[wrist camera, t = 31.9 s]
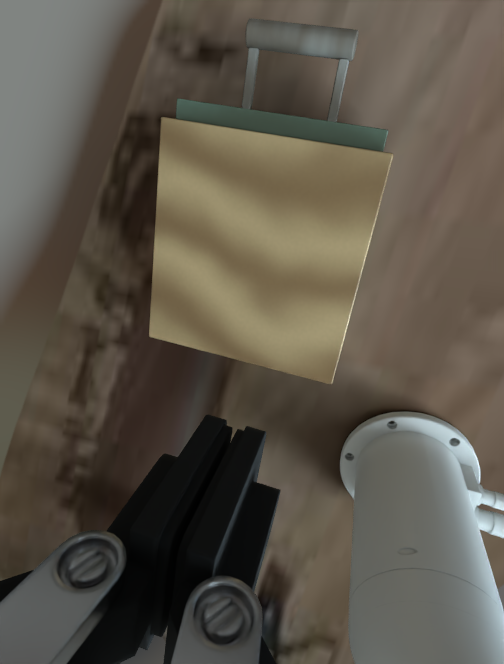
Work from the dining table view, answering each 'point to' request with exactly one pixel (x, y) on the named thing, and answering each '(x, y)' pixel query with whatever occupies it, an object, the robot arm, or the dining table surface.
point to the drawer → (295, 42)
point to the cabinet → (261, 244)
